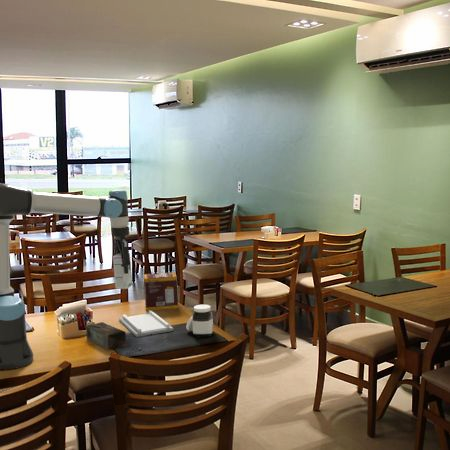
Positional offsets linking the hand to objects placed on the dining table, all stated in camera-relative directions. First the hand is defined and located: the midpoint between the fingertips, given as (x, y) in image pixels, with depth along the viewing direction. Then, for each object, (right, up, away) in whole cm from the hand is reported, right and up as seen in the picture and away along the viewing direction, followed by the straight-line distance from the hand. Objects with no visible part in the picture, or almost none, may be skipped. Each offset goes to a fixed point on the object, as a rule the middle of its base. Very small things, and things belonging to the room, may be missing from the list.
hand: (123, 278), depth 243 cm
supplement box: (+13, -17, +30) cm, 37 cm away
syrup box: (0, -4, +1) cm, 4 cm away
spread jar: (+33, -22, -12) cm, 41 cm away
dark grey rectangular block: (-3, -24, -19) cm, 31 cm away
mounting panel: (+9, -20, +1) cm, 22 cm away
